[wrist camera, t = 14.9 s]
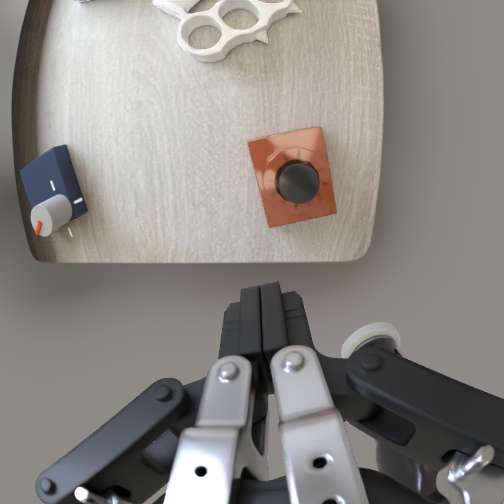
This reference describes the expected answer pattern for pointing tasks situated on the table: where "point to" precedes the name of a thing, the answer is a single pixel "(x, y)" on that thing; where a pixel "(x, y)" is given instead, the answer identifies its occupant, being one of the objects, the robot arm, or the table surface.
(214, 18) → the white brass knuckles
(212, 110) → the table surface
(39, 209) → the dial
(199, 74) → the table surface
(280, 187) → the dark grey short cylinder
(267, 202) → the button base
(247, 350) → the robot arm
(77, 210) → the dial panel
